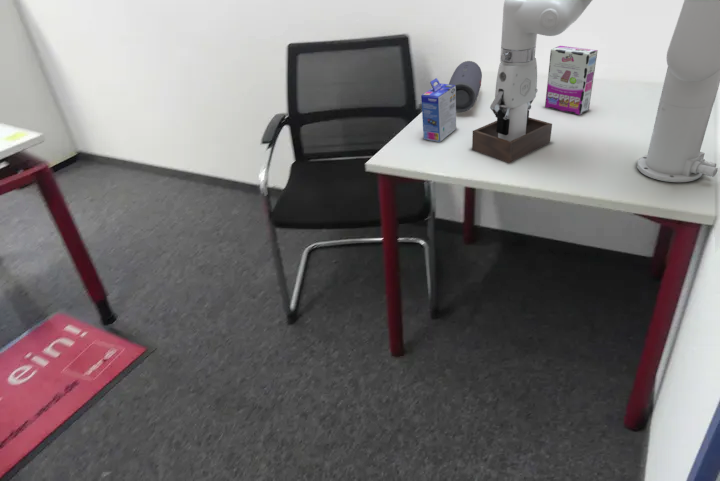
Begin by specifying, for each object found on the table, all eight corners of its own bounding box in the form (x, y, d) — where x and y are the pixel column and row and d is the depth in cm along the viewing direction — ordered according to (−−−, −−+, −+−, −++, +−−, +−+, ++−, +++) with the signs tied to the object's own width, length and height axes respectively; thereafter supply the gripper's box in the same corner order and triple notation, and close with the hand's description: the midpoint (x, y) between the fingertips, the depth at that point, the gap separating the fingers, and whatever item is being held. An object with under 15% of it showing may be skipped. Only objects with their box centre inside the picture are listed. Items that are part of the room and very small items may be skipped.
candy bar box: (589, 110, 149) (599, 49, 140) (580, 115, 146) (589, 54, 137) (553, 102, 156) (560, 44, 147) (543, 107, 154) (550, 48, 145)
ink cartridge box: (438, 126, 149) (438, 73, 141) (456, 129, 146) (457, 75, 138) (421, 139, 142) (420, 85, 134) (440, 142, 139) (439, 87, 131)
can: (525, 151, 130) (529, 103, 124) (497, 151, 132) (500, 104, 125) (523, 141, 136) (527, 94, 129) (497, 141, 137) (500, 95, 131)
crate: (550, 142, 133) (552, 123, 131) (509, 163, 126) (510, 143, 123) (512, 131, 141) (513, 113, 139) (471, 149, 134) (472, 130, 131)
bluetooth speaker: (477, 117, 152) (478, 82, 146) (444, 116, 154) (444, 82, 149) (482, 90, 170) (484, 58, 165) (453, 90, 172) (453, 59, 167)
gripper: (505, 66, 115) (500, 144, 125) (555, 48, 123) (547, 122, 133) (479, 60, 120) (476, 135, 130) (528, 43, 128) (522, 115, 138)
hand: (512, 128), depth 131 cm, fingers closed on can, 6 cm apart
